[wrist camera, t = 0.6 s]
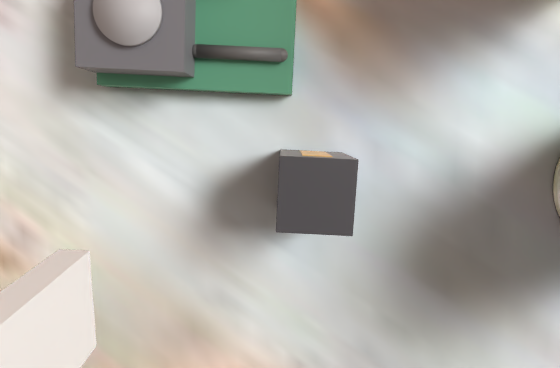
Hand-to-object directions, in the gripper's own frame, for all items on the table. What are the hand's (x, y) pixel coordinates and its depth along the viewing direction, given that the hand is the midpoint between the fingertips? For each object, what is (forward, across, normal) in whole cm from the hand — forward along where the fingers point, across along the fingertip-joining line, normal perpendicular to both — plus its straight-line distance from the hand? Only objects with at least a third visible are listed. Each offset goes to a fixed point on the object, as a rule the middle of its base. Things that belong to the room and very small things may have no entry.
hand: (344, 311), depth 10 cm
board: (+18, +7, -13) cm, 24 cm away
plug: (+17, 0, +1) cm, 17 cm away
